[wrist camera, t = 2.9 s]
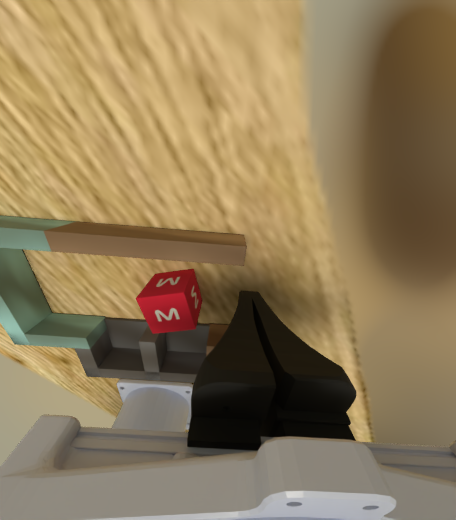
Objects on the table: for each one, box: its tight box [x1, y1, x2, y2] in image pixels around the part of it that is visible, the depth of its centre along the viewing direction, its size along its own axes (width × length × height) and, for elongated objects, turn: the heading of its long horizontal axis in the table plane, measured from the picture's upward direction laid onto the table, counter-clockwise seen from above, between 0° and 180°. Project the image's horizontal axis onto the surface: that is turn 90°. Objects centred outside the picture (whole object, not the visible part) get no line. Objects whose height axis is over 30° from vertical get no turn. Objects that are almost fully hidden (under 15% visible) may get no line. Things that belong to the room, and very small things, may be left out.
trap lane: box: [0, 216, 246, 383], centre depth 13 cm, size 13×17×2 cm
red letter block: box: [136, 269, 202, 334], centre depth 12 cm, size 3×3×3 cm
